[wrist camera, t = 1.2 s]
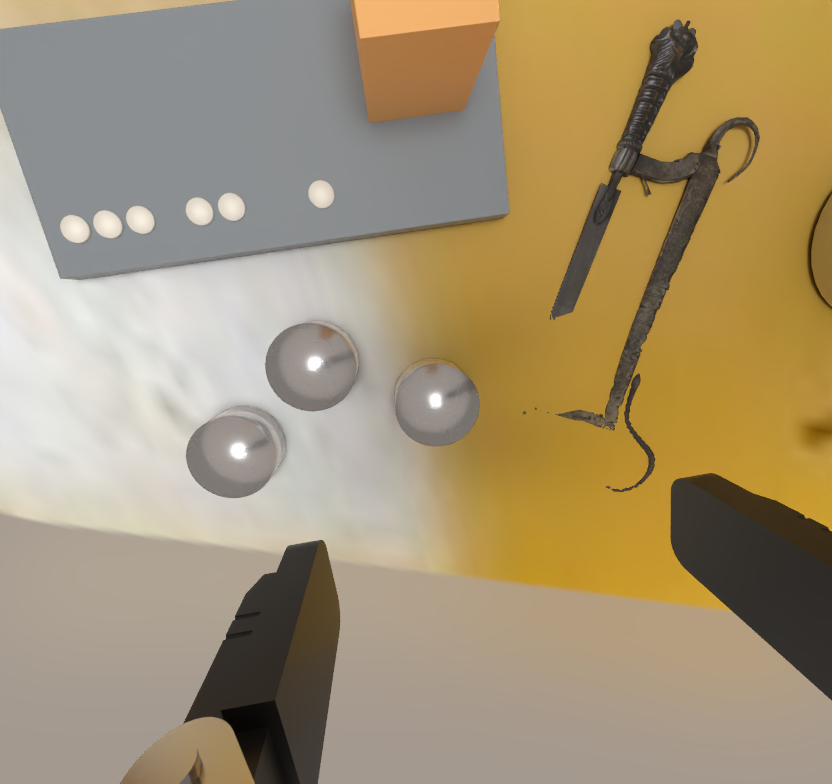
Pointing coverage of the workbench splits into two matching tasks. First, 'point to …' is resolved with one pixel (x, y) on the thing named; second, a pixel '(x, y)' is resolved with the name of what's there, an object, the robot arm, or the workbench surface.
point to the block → (421, 53)
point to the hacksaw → (664, 69)
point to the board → (230, 137)
